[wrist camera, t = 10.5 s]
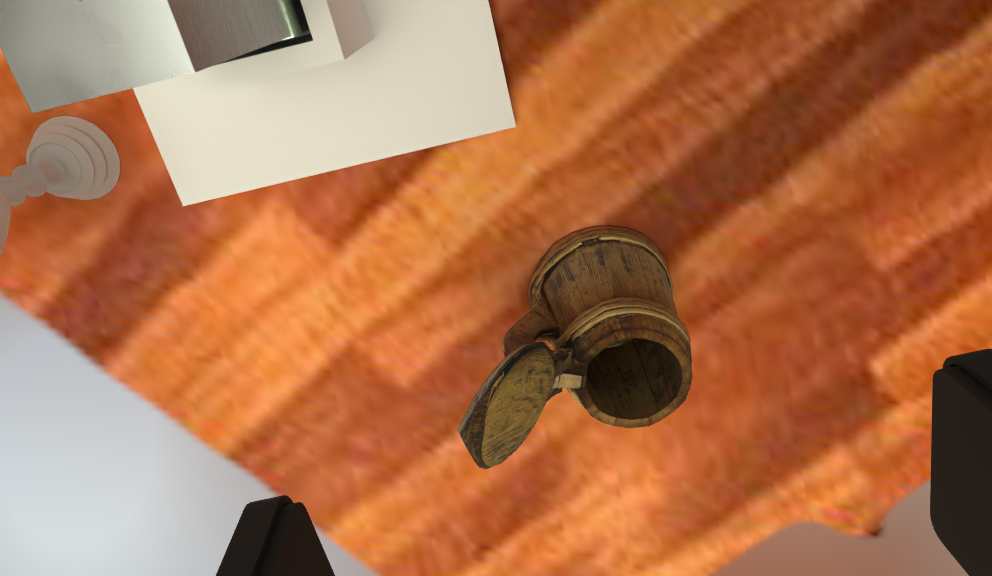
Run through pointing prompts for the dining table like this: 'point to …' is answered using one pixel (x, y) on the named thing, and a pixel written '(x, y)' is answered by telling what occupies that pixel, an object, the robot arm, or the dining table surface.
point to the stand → (332, 96)
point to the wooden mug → (587, 343)
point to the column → (130, 41)
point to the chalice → (61, 166)
